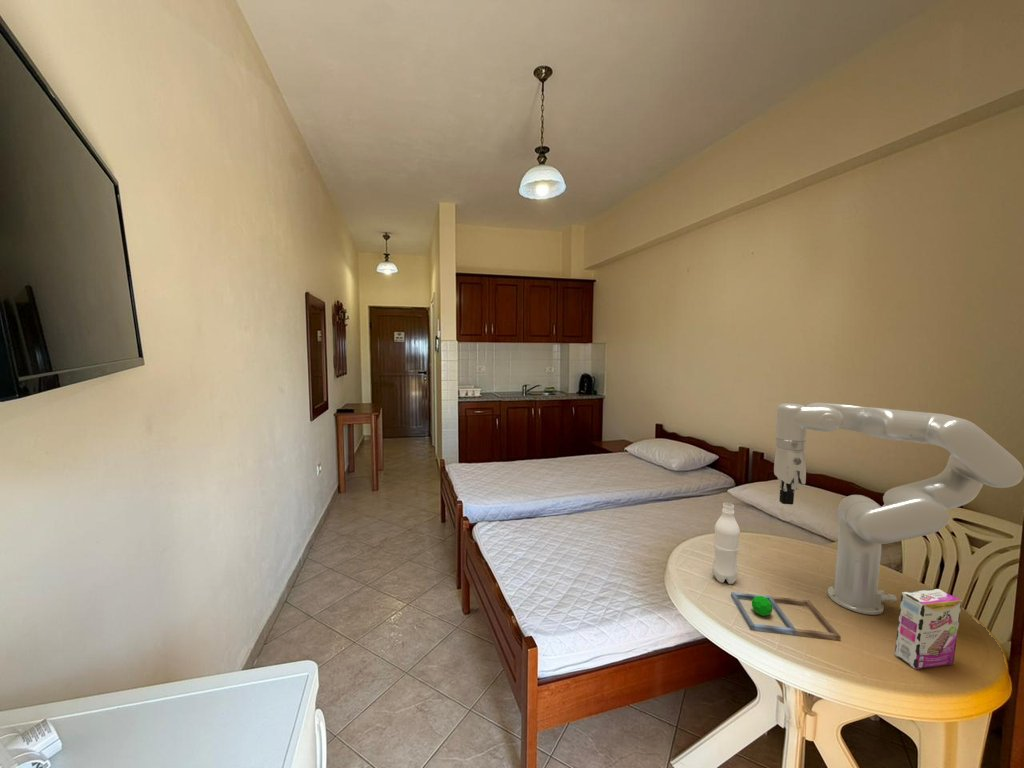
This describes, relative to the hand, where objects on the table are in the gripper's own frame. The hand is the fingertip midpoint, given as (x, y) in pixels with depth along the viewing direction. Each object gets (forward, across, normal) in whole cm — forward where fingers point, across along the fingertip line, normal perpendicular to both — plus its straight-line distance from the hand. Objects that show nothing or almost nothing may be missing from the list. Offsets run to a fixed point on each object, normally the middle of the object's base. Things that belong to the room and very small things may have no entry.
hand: (786, 503), depth 124 cm
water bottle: (+27, +1, +16) cm, 32 cm away
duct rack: (+27, -15, +7) cm, 32 cm away
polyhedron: (+27, -15, +11) cm, 33 cm away
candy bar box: (+27, -27, -20) cm, 43 cm away
